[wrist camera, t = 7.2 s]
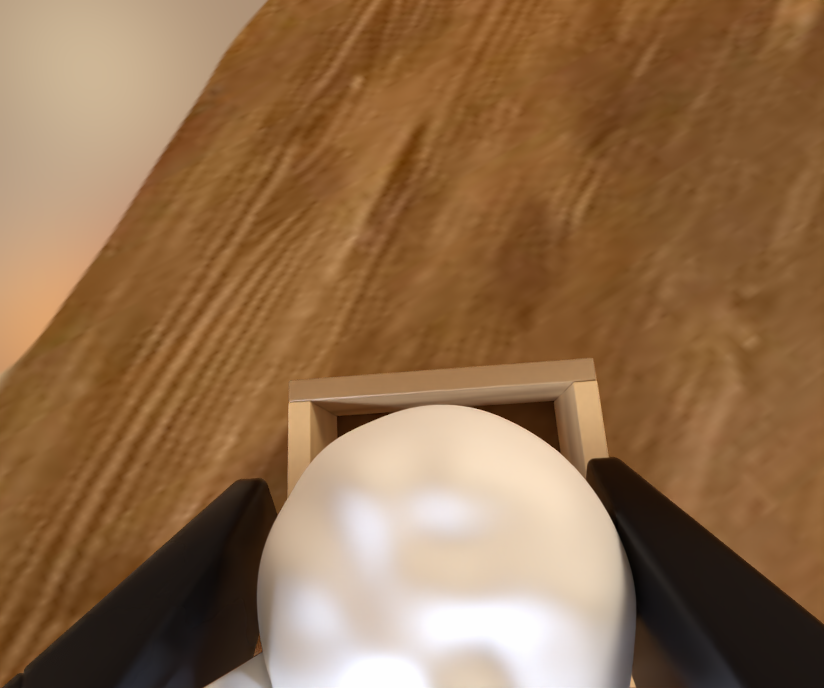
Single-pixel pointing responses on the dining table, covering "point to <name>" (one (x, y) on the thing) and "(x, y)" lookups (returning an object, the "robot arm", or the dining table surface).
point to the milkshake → (442, 565)
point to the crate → (450, 403)
